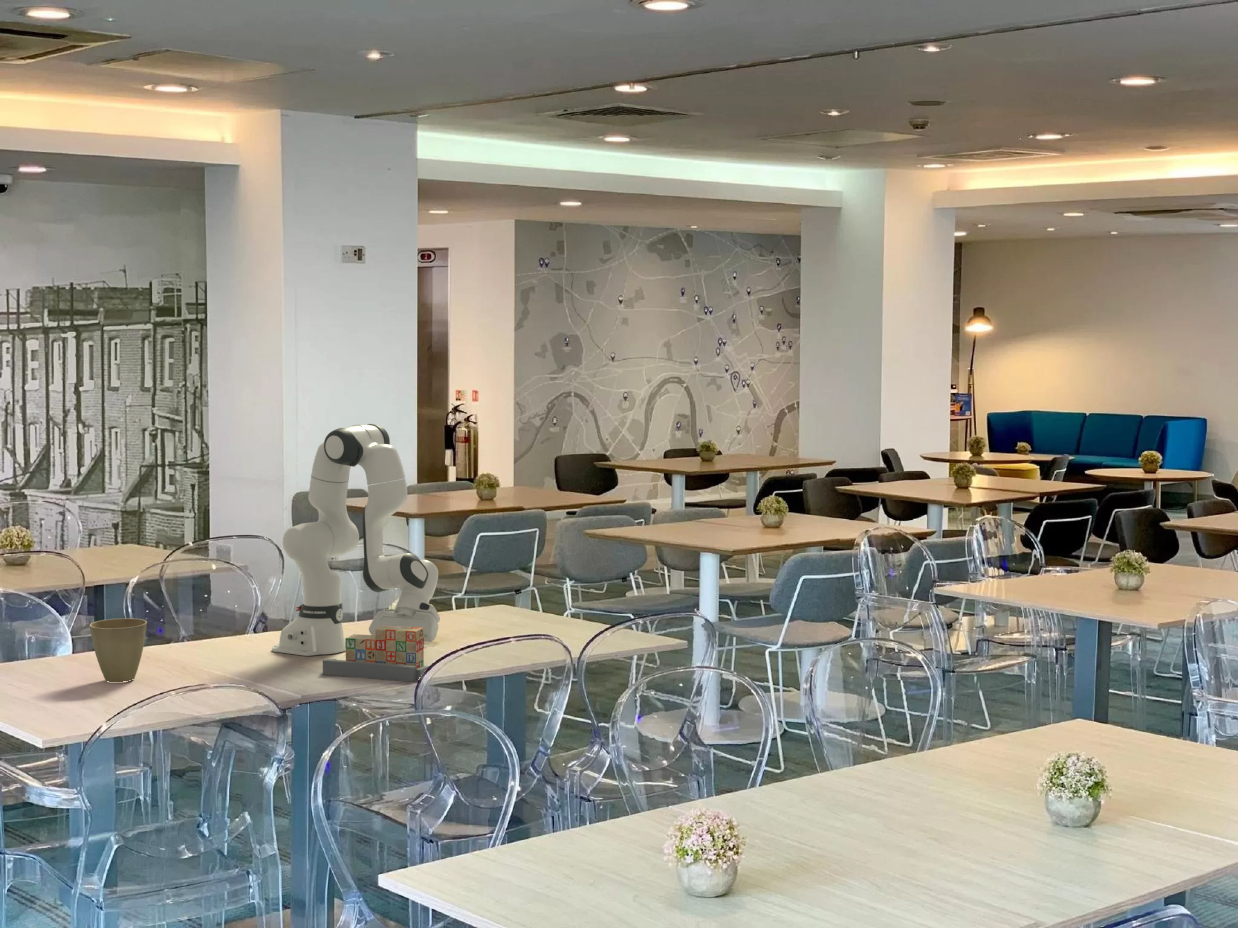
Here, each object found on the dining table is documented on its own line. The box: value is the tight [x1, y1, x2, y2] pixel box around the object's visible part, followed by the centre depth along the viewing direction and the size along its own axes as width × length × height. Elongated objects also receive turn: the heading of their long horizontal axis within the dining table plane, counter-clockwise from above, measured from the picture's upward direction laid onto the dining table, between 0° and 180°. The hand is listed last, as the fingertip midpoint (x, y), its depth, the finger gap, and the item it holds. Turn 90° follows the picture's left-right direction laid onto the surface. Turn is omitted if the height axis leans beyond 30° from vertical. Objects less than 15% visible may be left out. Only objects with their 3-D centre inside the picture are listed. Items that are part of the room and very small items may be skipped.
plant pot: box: [89, 617, 148, 682], centre depth 421 cm, size 15×15×16 cm
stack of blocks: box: [344, 625, 425, 669], centre depth 436 cm, size 21×6×12 cm, turn 76°
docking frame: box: [322, 658, 430, 683], centre depth 428 cm, size 30×7×4 cm, turn 70°
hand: (394, 650), depth 439 cm, fingers closed
